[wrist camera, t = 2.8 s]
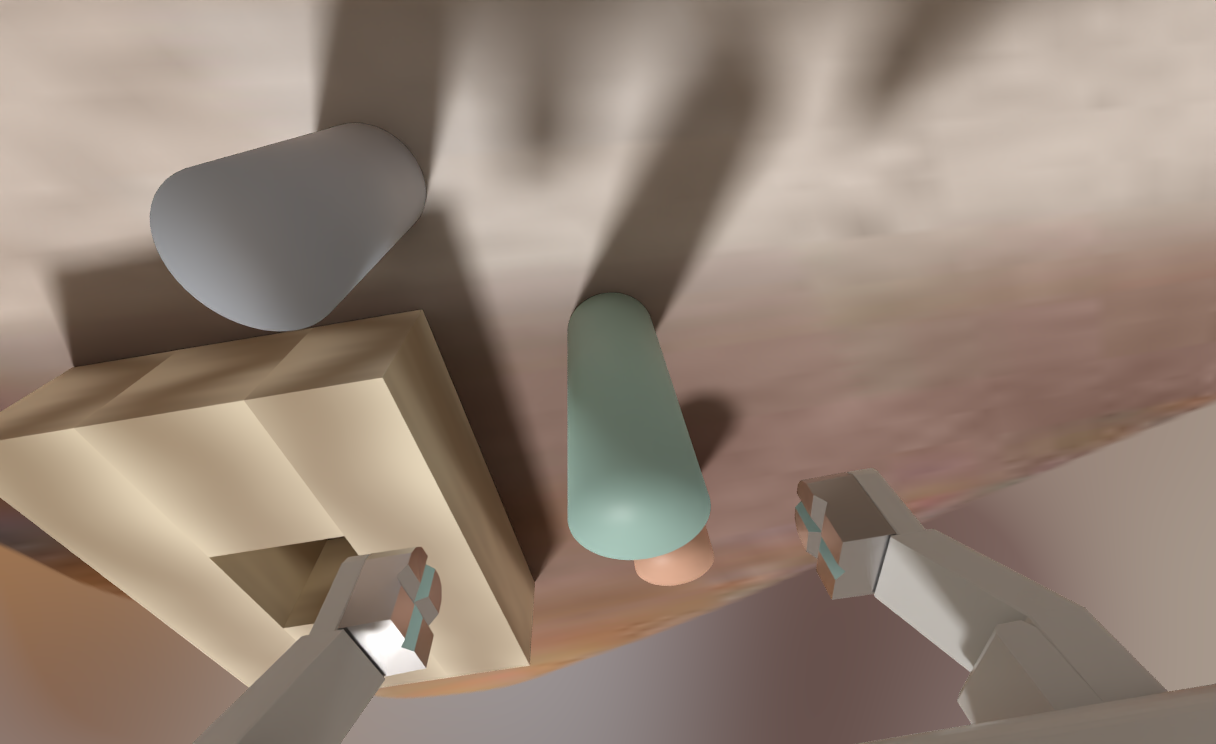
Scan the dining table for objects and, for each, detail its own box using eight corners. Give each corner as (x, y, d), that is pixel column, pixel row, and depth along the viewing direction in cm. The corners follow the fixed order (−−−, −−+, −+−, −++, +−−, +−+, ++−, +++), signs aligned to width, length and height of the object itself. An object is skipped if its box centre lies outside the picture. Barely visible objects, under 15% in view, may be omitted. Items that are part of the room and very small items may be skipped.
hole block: (422, 309, 15) (382, 377, 12) (535, 582, 24) (529, 665, 21) (72, 367, 16) (-62, 450, 12) (310, 617, 25) (270, 704, 21)
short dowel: (689, 453, 20) (713, 531, 17) (692, 499, 22) (714, 579, 18) (620, 464, 20) (630, 544, 17) (628, 509, 22) (639, 590, 18)
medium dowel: (402, 113, 12) (289, 149, 7) (441, 226, 14) (371, 317, 9) (291, 133, 12) (105, 181, 7) (343, 242, 14) (220, 343, 9)
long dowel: (648, 285, 16) (708, 453, 9) (655, 360, 17) (711, 548, 11) (559, 300, 16) (553, 477, 9) (575, 373, 17) (581, 568, 11)
